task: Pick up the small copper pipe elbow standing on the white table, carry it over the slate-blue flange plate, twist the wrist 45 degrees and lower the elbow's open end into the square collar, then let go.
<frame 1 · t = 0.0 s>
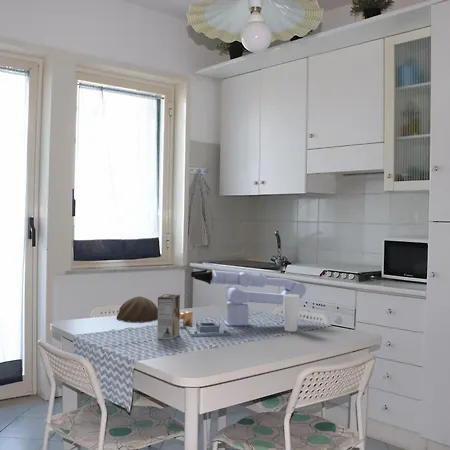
hand: (192, 275, 239), 22 cm above the table, tool horizontal, fingers open, 7 cm apart
copper elbow: (187, 325, 238), on the table
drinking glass: (290, 331, 232), on the table
coffee box: (168, 337, 216), on the table
decorative dome: (138, 318, 254), on the table
flange plate: (207, 331, 227), on the table
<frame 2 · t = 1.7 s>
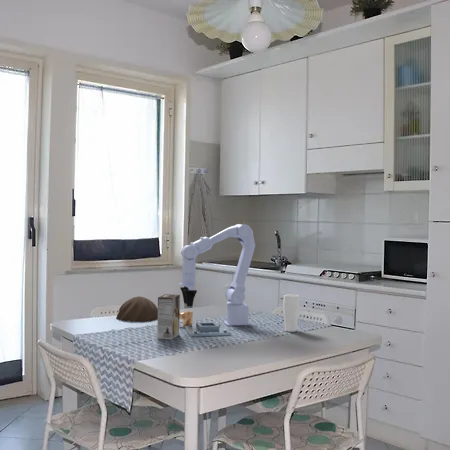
hand: (188, 304, 238), 9 cm above the table, tool pointing down, fingers open, 7 cm apart
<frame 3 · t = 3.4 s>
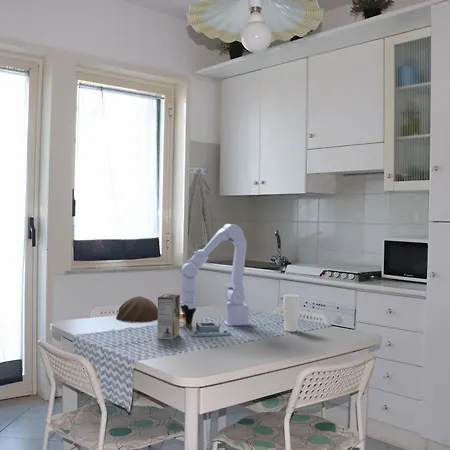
hand: (187, 322, 238), 1 cm above the table, tool pointing down, fingers closed on copper elbow, 4 cm apart
copper elbow: (187, 325, 238), on the table, touching gripper
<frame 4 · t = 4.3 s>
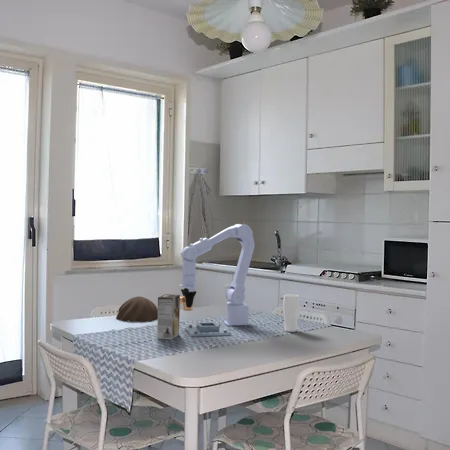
hand: (188, 306, 238), 8 cm above the table, tool pointing down, fingers closed on copper elbow, 4 cm apart
copper elbow: (188, 309, 238), point 7 cm above the table, touching gripper
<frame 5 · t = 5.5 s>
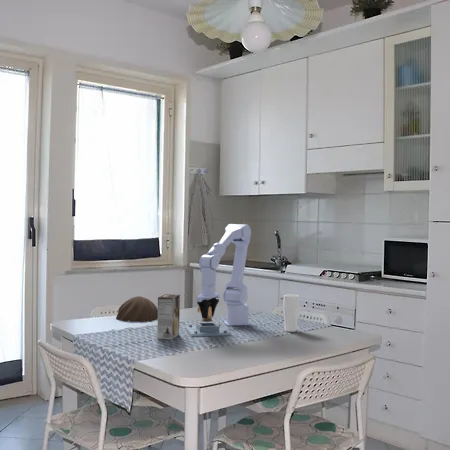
hand: (207, 317, 227), 6 cm above the table, tool pointing down, fingers closed on copper elbow, 4 cm apart
copper elbow: (206, 320, 227), point 4 cm above the table, touching gripper
when the fingers open (3 cm above the table, at t = 6.9 s): copper elbow stays where it is, resting on flange plate.
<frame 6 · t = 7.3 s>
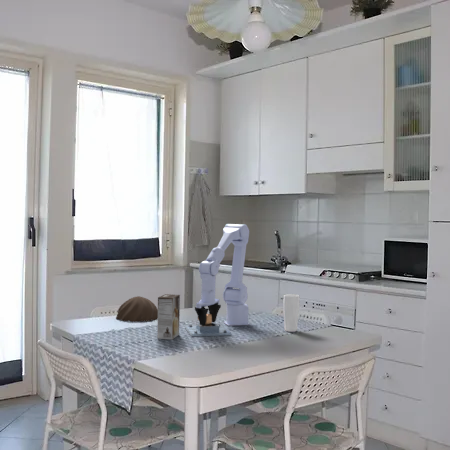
hand: (207, 323, 227), 3 cm above the table, tool pointing down, fingers open, 7 cm apart
copper elbow: (206, 329, 227), point 1 cm above the table, touching flange plate
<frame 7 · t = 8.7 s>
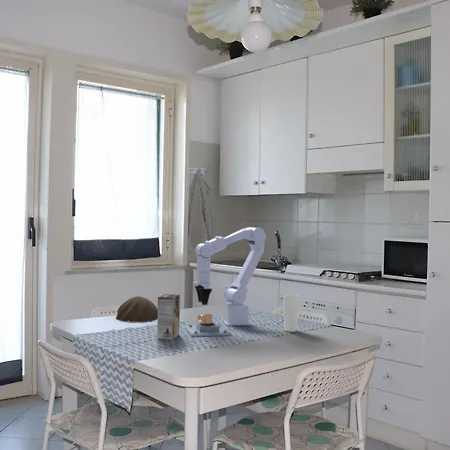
hand: (202, 303, 237), 10 cm above the table, tool pointing down, fingers open, 7 cm apart
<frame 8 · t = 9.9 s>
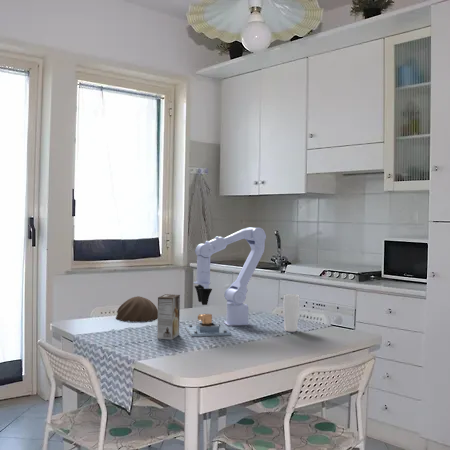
hand: (202, 303, 237), 10 cm above the table, tool pointing down, fingers open, 7 cm apart
at the end: copper elbow 0.4 cm off-centre on the flange plate, point 1.0 cm above the flange plate's base; copper elbow tilted 0°; the gripper is holding nothing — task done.
